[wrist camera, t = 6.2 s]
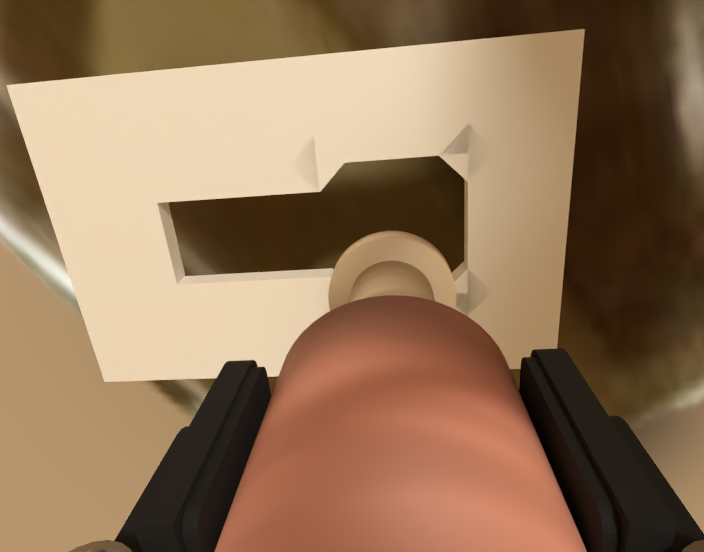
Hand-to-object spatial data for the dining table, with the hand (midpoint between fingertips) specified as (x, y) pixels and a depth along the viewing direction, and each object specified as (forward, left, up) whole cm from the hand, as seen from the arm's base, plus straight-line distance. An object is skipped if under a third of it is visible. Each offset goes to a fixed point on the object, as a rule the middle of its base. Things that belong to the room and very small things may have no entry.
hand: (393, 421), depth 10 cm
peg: (0, 0, -7) cm, 7 cm away
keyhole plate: (+4, 0, -19) cm, 20 cm away
